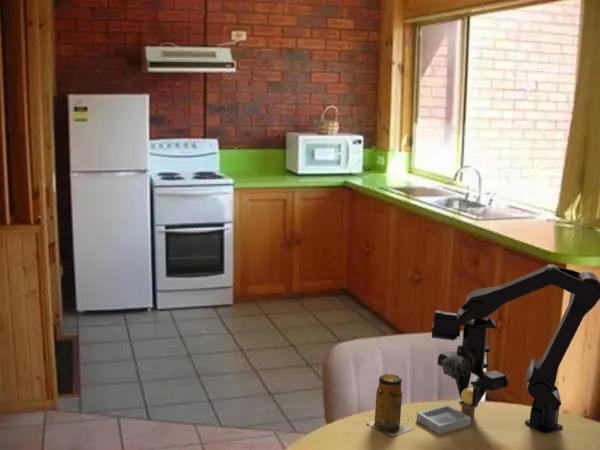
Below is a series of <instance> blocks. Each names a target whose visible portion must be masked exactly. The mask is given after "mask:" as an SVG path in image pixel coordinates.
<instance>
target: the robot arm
mask: <svg viewBox="0 0 600 450" xmlns="http://www.w3.org/2000/svg"><path fill="white" fill-rule="evenodd" d="M551 285H552V286H555V287H558V288H559V289H562V290H563V291H566V292H568V293H570V294H569V299H568V303H567V304H568V305H567V307H566V309H565V312H564V313H563V315H562V317H561V319H560V321H559V323H558V325H557V327H556V329H555V331H554V334H553V335H552V338H551V339H550V341H549V343H548V345H547V348H546V349H545V351H544V353H543V355H542V356H541V357H540V358H539V359H538V360H536V359H534V358H532V359H531V362H530V365H529V367H528V369H526V370H525V378H526V379H525V380H526V385H527V391H528V392H527V393H528V394H529V395H530V396H531V397H532V398H533V401H532V402H531V408H530V414H529V419H526V420H524V423H525V424H526V425H529V426H530V427H532V428H534V429H536V430H537V431H539V432H541V433H544V434H548V433H552V432H555V431H558V430H561V429H563V427H564V426H563V425H562V424H560V423H559V415H560V407H561V405H562V401H561V397H560V396H561V395H560V391H559V388H558V387H557V386H556V382H557V376H558V373H559V367H560V365H561V363H562V361H563V359H564V357H565V355H566V354H567V351H568V349H569V347H570V345H571V343H572V341H573V339H574V338H575V335H576V333H577V331H578V329H579V327H580V325H581V323H582V322H583V320H584V317H585V316H586V315H587V314H588V313H589V312H590V311H591V310H593V308H594V307H595V306H596V305H597V303H598V302H599V301H600V279H599V277H597V275H596V274H594V273H593V272H591V271H583V272H580V271H577V270H573V269H571V268H570V269H569V268H565V267H561V266H558V265H556V264H554V263H549V264H546V265H545V266H544V267H541V268H539V269H536V270H535V271H532V272H529V273H527V274H524V275H523V276H520V277H517V278H515V279H513V280H510V281H507V282H506V283H504V284H501V285H500V284H499V285H497V286H490V287H489V286H488V287H484V288H478V289H474V290H473V291H470V292H469V293H468V294H467V296H466V298H465V303H464V304H462V306H461V307H460V308H459V309H458V310H457V312H456V313H455V312H448V311H444V310H443V311H442V310H437V309H436V310H435V311H434V317H433V321H432V322H433V324H432V327H431V339H439V340H446V341H456V340H458V338H460V337H461V329H462V326H463V330H462V339H461V340H462V342H461V344H458V346H457V348H456V351H455V350H451V351H446V352H442V353H440V354H439V356H437V365H438V366H440V367H442V371H443V374H444V375H447V376H449V377H451V378H452V379H453V380H455V383H456V386H457V391H458V396H459V398H460V400H462V399H461V393H462V391H463V390H464V389H465V388H469V385H470V384H471V386H472V389H473V406H477V405H478V406H479V403H480V402H481V400H482V398H483V397H484V395H485V394H486V392H487V391H492V392H493V391H497V390H500V389H504V388H508V384H509V383H508V382H509V378H508V376H507V375H505V374H504V373H501V372H500V371H498V370H491V371H485V370H484V369H488V367H489V363H487V362H486V354H487V353H489V352H490V347H489V346H487V341H488V331H489V330H488V329H493V330H495V329H496V328H497V322H496V321H495V320H494V319H493V318H492V316H491V315H492V314H493V313H494V312H496V311H497V310H499V308H501V307H502V306H504V305H505V304H507V303H509V302H512V301H514V300H516V299H520V298H521V297H523V296H526V295H528V294H532V293H534V292H536V291H538V290H542V289H544V288H546V287H548V286H551ZM471 375H473V376H474V377H476V379H475V380H473V381H471Z"/></svg>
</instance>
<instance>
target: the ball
mask: <svg viewBox="0 0 600 450" xmlns="http://www.w3.org/2000/svg"><path fill="white" fill-rule="evenodd" d="M460 400H461V401H463V402H464V403H466V404H473V387H468V388H465V389H464V390H463V391H462V393H461V399H460Z"/></svg>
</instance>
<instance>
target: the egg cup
mask: <svg viewBox="0 0 600 450" xmlns="http://www.w3.org/2000/svg"><path fill="white" fill-rule="evenodd" d="M458 404H459V405H460V406H461V409H460V410H461V411H460V412H462V413H464V414H466V415H467V416H469V417H471V419H472V418H473V417H475V410H476V408H478V406H479V404H478V405H477V406H473V404H466V403H464V402H463V401H462V400H460V401H458Z"/></svg>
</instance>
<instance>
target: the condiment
mask: <svg viewBox="0 0 600 450" xmlns="http://www.w3.org/2000/svg"><path fill="white" fill-rule="evenodd" d="M402 382H403V380H402V378H401V377H400V376H398V375H396V374H393V373H387V374H382V375H380V376H379V378H378V387H376V395H375V409H374V410H375V411H374V419H373V420H371V421H368V422H366V424H367V425H369V426H370V427H372V428H374V429H376V430H378V431H381V432H382V433H383V434H386V435H388V436H390V437H396V436H398V435H401V434H405V433H406V432H409V431H411V430H413V428H412V427H411V426H409V425H406V424H404V423H402V422H401V417H402V416H401V413H402V403H403V389H402Z"/></svg>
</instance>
